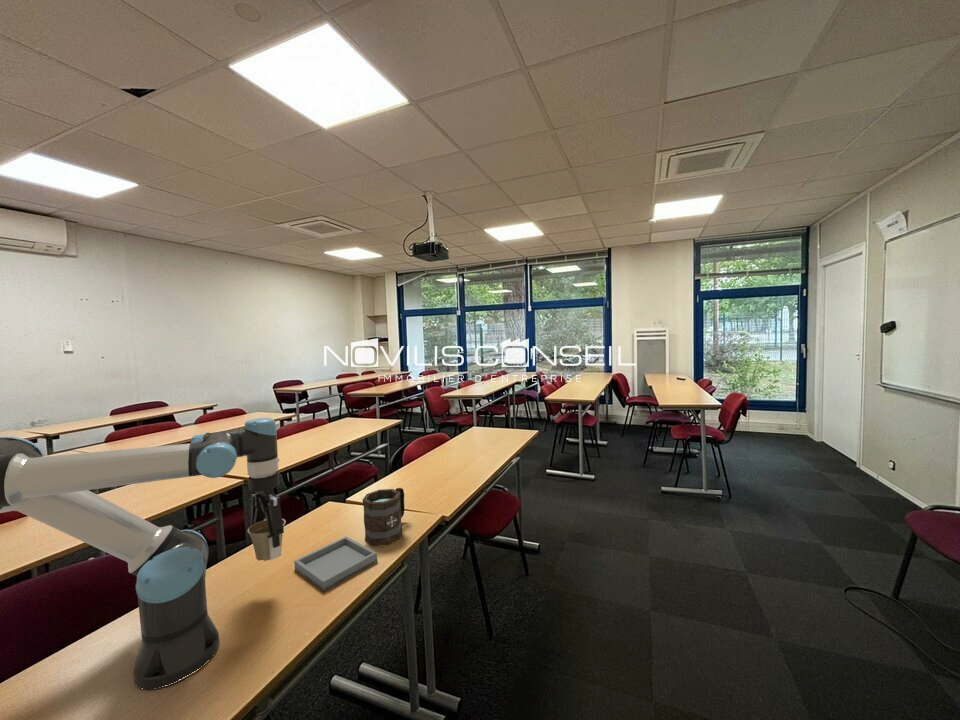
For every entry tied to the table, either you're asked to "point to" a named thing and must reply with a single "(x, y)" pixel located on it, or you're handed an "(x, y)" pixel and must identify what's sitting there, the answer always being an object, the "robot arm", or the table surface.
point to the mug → (383, 516)
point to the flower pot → (262, 539)
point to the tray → (335, 563)
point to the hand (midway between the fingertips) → (268, 551)
